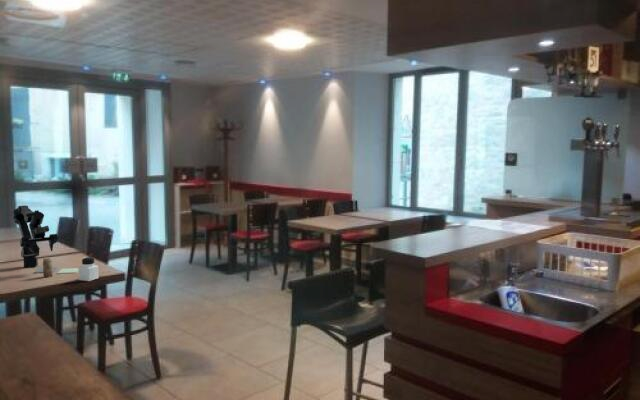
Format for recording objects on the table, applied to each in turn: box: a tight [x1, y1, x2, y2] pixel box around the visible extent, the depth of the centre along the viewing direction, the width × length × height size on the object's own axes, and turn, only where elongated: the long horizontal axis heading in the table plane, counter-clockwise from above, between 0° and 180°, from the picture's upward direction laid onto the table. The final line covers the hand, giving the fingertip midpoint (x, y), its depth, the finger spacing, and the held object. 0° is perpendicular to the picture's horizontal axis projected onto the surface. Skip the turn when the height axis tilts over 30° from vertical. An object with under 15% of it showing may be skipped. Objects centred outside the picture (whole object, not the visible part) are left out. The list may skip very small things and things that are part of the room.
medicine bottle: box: [77, 256, 99, 282], centre depth 272 cm, size 7×7×12 cm
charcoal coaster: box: [33, 267, 58, 274], centre depth 291 cm, size 10×10×1 cm
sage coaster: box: [57, 267, 79, 275], centre depth 289 cm, size 10×10×1 cm
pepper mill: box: [42, 257, 53, 279], centre depth 277 cm, size 4×4×10 cm
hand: (43, 251), depth 281 cm, fingers open, 9 cm apart
